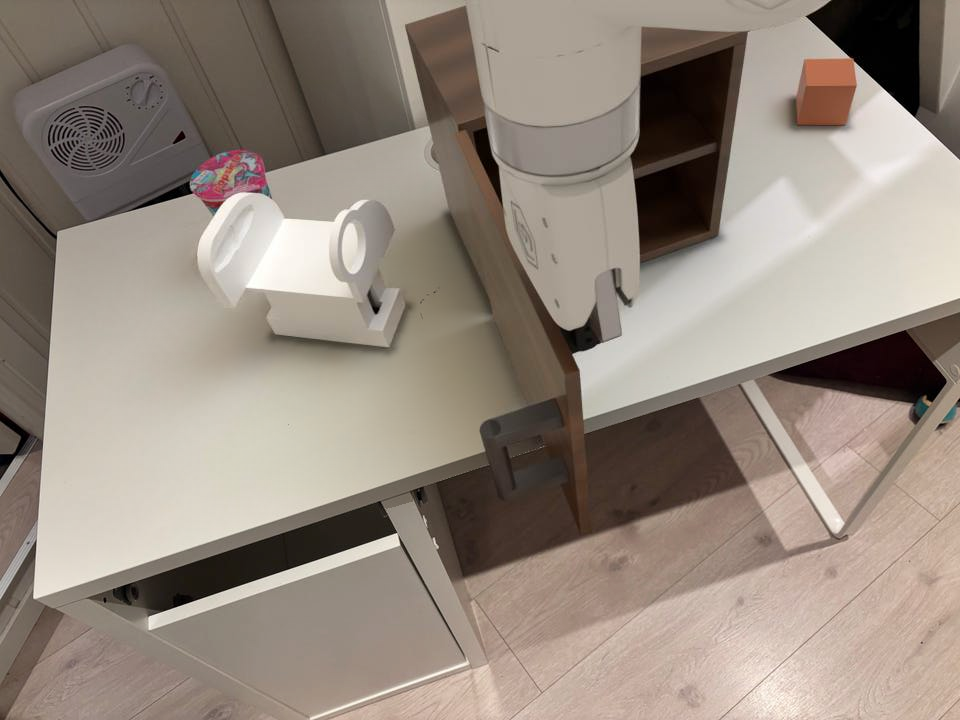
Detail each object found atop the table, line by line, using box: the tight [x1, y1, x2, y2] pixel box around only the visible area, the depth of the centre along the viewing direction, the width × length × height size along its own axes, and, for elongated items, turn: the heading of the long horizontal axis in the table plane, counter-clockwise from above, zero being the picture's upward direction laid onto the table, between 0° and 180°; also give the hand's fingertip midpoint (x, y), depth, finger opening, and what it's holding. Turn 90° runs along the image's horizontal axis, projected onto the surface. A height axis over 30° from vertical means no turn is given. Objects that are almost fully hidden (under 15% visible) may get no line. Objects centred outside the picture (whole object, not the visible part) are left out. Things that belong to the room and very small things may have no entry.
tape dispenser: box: [196, 192, 406, 348], centre depth 76 cm, size 14×13×18 cm
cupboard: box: [404, 5, 749, 298], centre depth 77 cm, size 18×26×24 cm
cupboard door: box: [455, 130, 592, 536], centre depth 62 cm, size 7×26×24 cm, turn 16°
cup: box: [189, 149, 274, 217], centre depth 88 cm, size 9×8×12 cm
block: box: [795, 57, 858, 126], centre depth 90 cm, size 6×6×6 cm
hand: (579, 340), depth 51 cm, fingers closed
